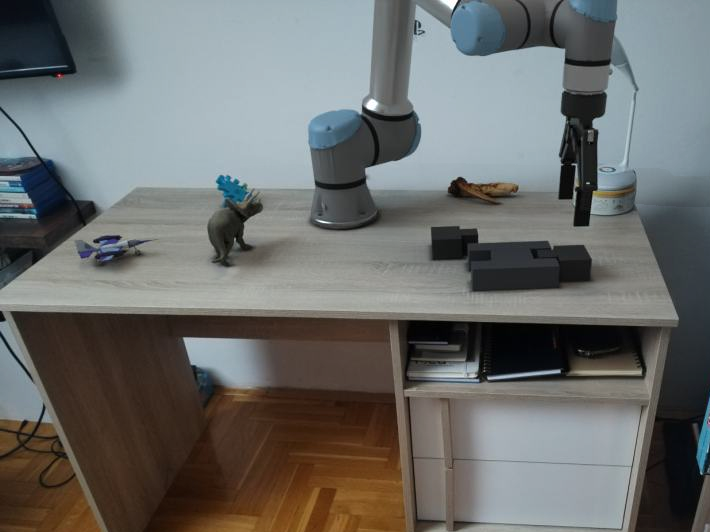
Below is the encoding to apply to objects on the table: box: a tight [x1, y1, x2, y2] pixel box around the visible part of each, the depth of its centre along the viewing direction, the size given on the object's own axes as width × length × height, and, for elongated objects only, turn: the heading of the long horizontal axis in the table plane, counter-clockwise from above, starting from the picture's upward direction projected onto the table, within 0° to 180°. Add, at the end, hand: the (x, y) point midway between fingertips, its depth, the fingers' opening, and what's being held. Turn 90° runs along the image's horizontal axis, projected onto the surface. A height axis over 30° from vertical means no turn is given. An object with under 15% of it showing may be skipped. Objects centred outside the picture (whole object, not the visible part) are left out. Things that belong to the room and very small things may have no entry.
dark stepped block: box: [537, 244, 593, 283], centre depth 124 cm, size 7×10×4 cm
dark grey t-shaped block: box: [430, 225, 479, 261], centre depth 134 cm, size 7×10×4 cm
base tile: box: [467, 240, 560, 292], centre depth 124 cm, size 12×16×4 cm
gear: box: [214, 174, 255, 207], centre depth 159 cm, size 11×6×10 cm
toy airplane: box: [74, 234, 163, 266], centre depth 133 cm, size 13×14×4 cm
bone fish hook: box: [447, 176, 520, 205], centre depth 162 cm, size 9×5×18 cm
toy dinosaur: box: [206, 188, 264, 267], centre depth 131 cm, size 22×8×11 cm, turn 168°
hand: (572, 212), depth 120 cm, fingers open, 13 cm apart
